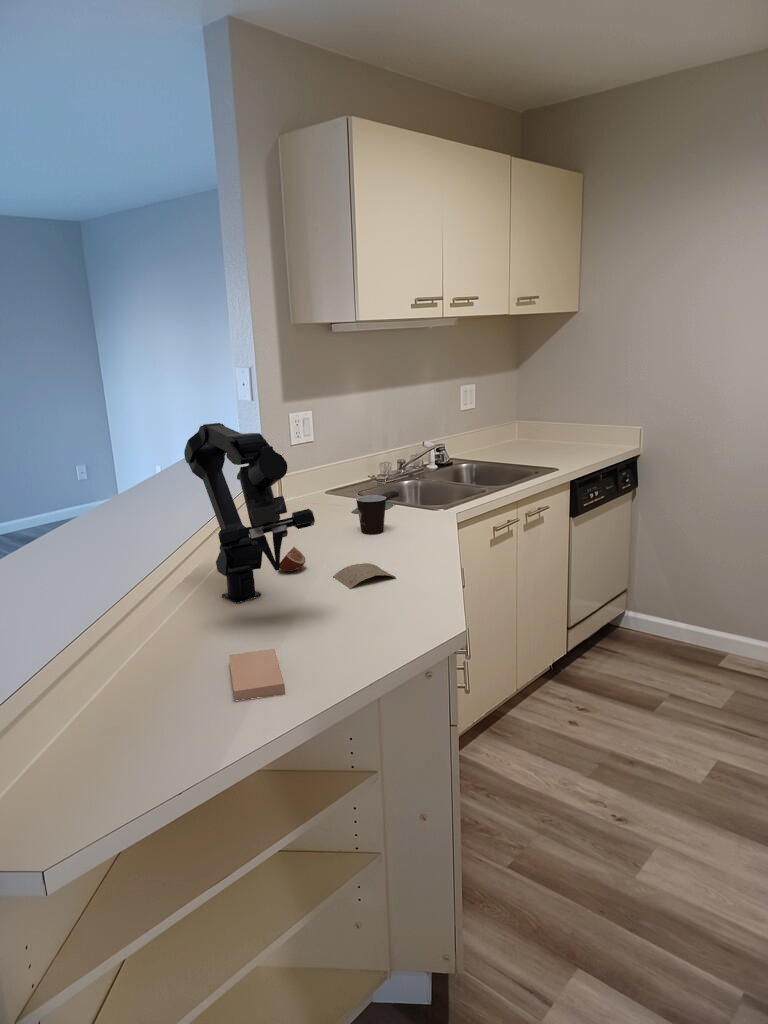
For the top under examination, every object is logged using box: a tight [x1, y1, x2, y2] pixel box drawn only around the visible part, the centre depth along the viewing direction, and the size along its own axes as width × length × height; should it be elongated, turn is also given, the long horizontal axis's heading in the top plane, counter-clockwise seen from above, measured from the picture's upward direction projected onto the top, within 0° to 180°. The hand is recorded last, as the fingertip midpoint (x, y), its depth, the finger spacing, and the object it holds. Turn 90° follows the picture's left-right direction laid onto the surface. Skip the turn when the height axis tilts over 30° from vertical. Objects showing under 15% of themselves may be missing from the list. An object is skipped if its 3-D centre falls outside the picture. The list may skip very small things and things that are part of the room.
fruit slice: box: [279, 546, 306, 572], centre depth 178 cm, size 8×7×5 cm
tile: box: [228, 648, 286, 702], centre depth 122 cm, size 2×8×14 cm
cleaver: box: [351, 490, 400, 515], centre depth 244 cm, size 30×10×2 cm, turn 156°
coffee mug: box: [355, 494, 387, 536], centre depth 211 cm, size 12×9×10 cm
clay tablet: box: [332, 562, 397, 589], centre depth 171 cm, size 14×10×3 cm
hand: (277, 570), depth 142 cm, fingers closed
